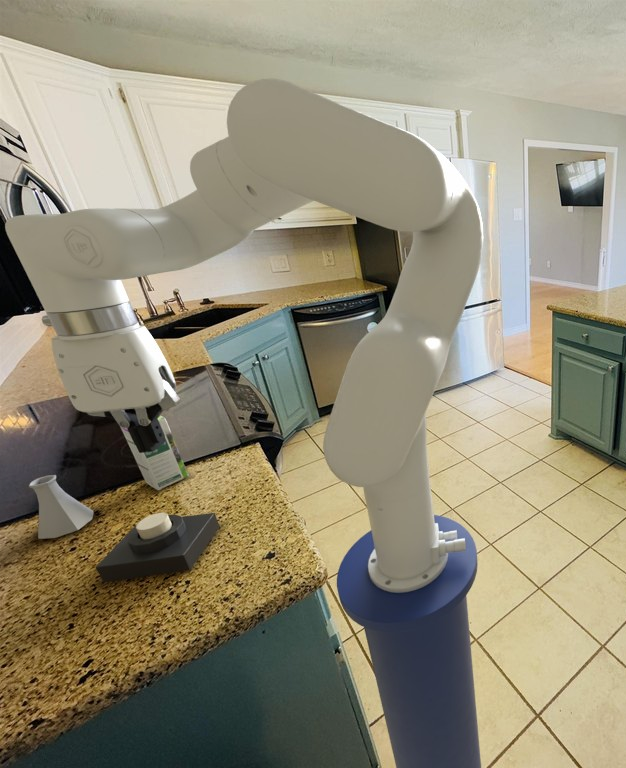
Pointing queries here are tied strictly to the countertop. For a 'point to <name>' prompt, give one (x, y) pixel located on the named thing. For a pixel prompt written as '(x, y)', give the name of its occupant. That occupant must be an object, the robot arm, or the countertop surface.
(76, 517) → the flask
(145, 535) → the white push button
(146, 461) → the syrup box
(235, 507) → the countertop surface
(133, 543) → the dark grey button base
